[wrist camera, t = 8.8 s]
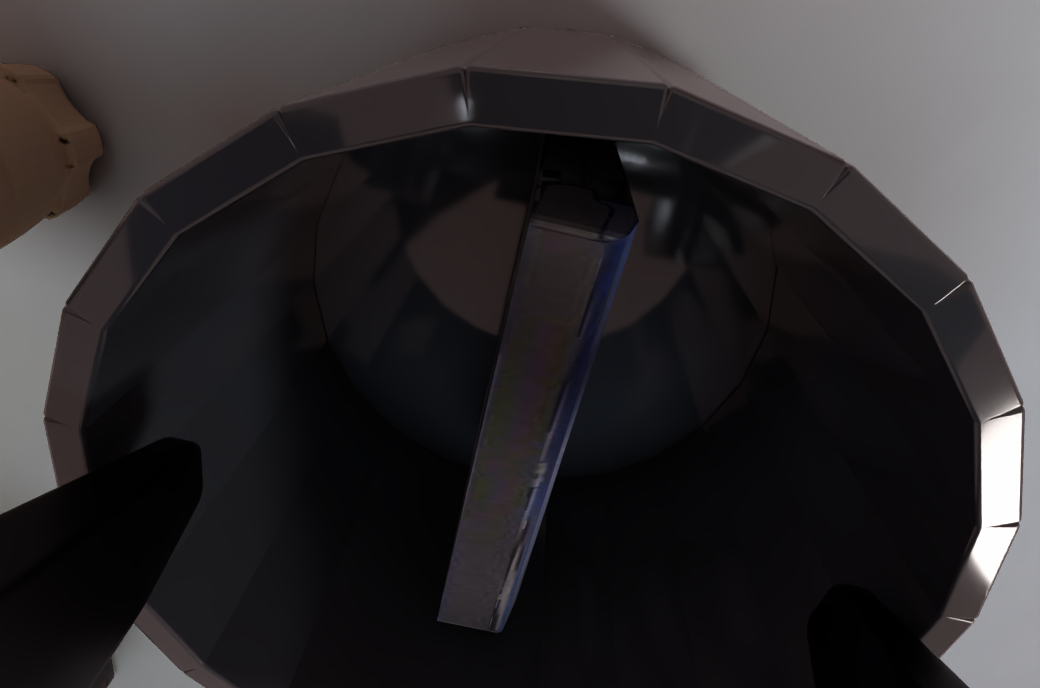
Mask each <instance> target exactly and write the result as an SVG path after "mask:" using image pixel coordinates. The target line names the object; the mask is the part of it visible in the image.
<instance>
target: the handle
mask: <svg viewBox="0 0 1040 688" xmlns="http://www.w3.org/2000/svg"><path fill="white" fill-rule="evenodd" d="M102 154H103V146H102V140H101V138H100V135H99V132H98V130H97V128H96V126H95V125H94V124H93V123H90V122H88V121H87V120H86V119H85V118H84V117H83V116H82V115H81V114H80V113H79V112H78V111H77V110H76V109H75V108H74V106H73V105H72V104H71V102H70V101H69V100H68V98H67V97H66V95H65V94H64V92H63V90H62V88H61V86H60V82H59V80H58V79H56V78H55V77H54V76H53V75H52V74H50V73H49V72H47V71H45V70H44V69H42V68H39V67H37V66H35V65H26V64H0V249H1V248H3V247H4V246H6V245H8V244H9V243H11V242H12V241H14V240H15V239H17V238H18V237H20V236H21V235H23V234H24V233H26V232H27V231H28V230H30V229H31V228H32V227H34V226H35V225H36V224H37V223H39V222H40V221H41V220H43V219H44V218H45V217H46V218H47V219H52V218H55V217H57V216H59V215H60V214H62V213H64V212H65V211H67V210H69V209H71V208H72V207H74V206H75V205H77V204H78V203H79V202H81V201H82V200H83V199H84V198H86V197H87V196H88V195H89V191H90V185H89V173H90V168H91V165H92V163H93V162H94V160H95V159H96V158H98V157H100V156H101V155H102Z"/></svg>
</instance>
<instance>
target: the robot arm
mask: <svg viewBox="0 0 1040 688" xmlns="http://www.w3.org/2000/svg"><path fill="white" fill-rule="evenodd" d="M202 490H203V476H202V456H201V448H200V446H199V444H198V443H196V442H194V441H189V440H185V439H180V438H175V437H165V438H162V439H159V440H157V441H155V442H153V443H151V444H149V445H147V446H145V447H142V448H140V449H138V450H136V451H134V452H132V453H130V454H128V455H126V456H123V457H121V458H119V459H117V460H115V461H113V462H111V463H109V464H106V465H104V466H102V467H100V468H98V469H96V470H94V471H92V472H90V473H87V474H85V475H83V476H81V477H79V478H77V479H75V480H73V481H70V482H68V483H66V484H64V485H62V486H60V487H58V488H56V489H53V490H51V491H49V492H47V493H45V494H43V495H41V496H39V497H37V498H34V499H32V500H30V501H28V502H26V503H24V504H22V505H20V506H17V507H15V508H13V509H11V510H9V511H7V512H5V513H3V514H1V515H0V688H107V687H108V685H109V684H110V682H111V681H112V679H113V678H114V671H113V666H112V660H111V656H112V655H113V653H114V652H115V650H116V649H117V647H118V646H119V644H120V643H121V641H122V640H123V638H124V637H125V635H126V634H127V632H128V631H129V629H130V628H131V626H132V625H133V623H134V622H135V620H136V618H137V617H138V615H139V614H140V612H141V610H142V609H143V607H144V605H145V604H146V602H147V600H148V598H149V596H150V595H151V593H152V591H153V589H154V587H155V585H156V584H157V582H158V580H159V578H160V576H161V574H162V572H163V570H164V568H165V566H166V564H167V563H168V561H169V559H170V557H171V555H172V553H173V551H174V549H175V547H176V545H177V544H178V542H179V540H180V538H181V536H182V534H183V532H184V530H185V528H186V526H187V525H188V523H189V521H190V519H191V517H192V515H193V513H194V511H195V509H196V507H197V505H198V503H199V501H200V498H201V495H202ZM807 638H808V644H809V651H810V657H811V664H812V670H813V677H814V683H815V688H969V687H968V686H967V685H966V684H965V683H964V682H963V681H962V680H961V679H960V678H959V677H958V676H957V675H956V674H955V673H954V672H953V671H952V670H951V669H950V668H949V667H947V666H946V665H945V664H944V663H943V662H942V661H941V660H940V659H939V658H938V657H937V656H936V655H935V654H934V653H933V652H932V651H931V650H930V649H929V648H928V647H927V646H926V645H925V644H924V643H923V642H922V641H921V640H920V639H919V638H918V637H917V636H916V635H915V634H914V633H913V632H912V631H911V630H910V629H909V628H908V627H907V626H906V625H905V624H904V623H903V622H902V621H901V620H899V619H898V618H897V617H896V616H895V615H894V614H893V613H892V612H891V611H890V610H889V609H888V608H887V607H886V606H885V605H884V604H883V603H882V602H881V601H880V600H879V599H878V598H877V597H876V596H875V595H874V594H873V593H872V592H871V591H869V590H868V589H866V588H863V587H859V586H855V585H850V584H846V583H837V584H835V585H833V586H832V587H831V588H830V589H829V591H828V592H827V593H826V595H825V596H824V597H823V599H822V600H821V602H820V603H819V604H818V606H817V607H816V608H815V610H814V611H813V613H812V614H811V616H810V617H809V620H808V624H807Z"/></svg>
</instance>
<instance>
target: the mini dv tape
mask: <svg viewBox="0 0 1040 688" xmlns="http://www.w3.org/2000/svg"><path fill="white" fill-rule="evenodd" d="M638 223H639V218H638V215H637V212H636V208H635V205H634V202H633V198H632V195H631V192H630V189H629V185H628V182H627V179H626V176H625V172H624V169H623V166H622V163H621V159H620V156H619V153H618V149H617V146H615V145H611V144H607V143H603V142H599V141H594V140H590V139H586V138H581V137H570V136H560V135H550V134H545V135H544V140H543V144H542V149H541V153H540V157H539V162H538V166H537V171H536V175H535V179H534V184H533V188H532V192H531V197H530V201H529V206H528V210H527V214H526V219H525V223H524V228H523V232H522V236H521V241H520V245H519V250H518V254H517V258H516V263H515V267H514V271H513V276H512V280H511V285H510V289H509V293H508V298H507V302H506V307H505V311H504V315H503V320H502V324H501V329H500V333H499V337H498V342H497V346H496V350H495V355H494V359H493V364H492V368H491V372H490V377H489V381H488V386H487V390H486V394H485V399H484V403H483V408H482V412H481V416H480V421H479V425H478V430H477V434H476V439H475V444H474V448H473V453H472V458H471V463H470V467H469V472H468V477H467V481H466V486H465V491H464V496H463V500H462V505H461V510H460V515H459V519H458V524H457V529H456V533H455V538H454V543H453V548H452V552H451V557H450V562H449V566H448V571H447V576H446V581H445V585H444V590H443V595H442V600H441V604H440V609H439V614H438V618H437V621H441V622H446V623H451V624H456V625H461V626H466V627H471V628H476V629H481V630H486V631H491V632H496V633H497V632H501V631H502V630H503V628H504V626H505V623H506V621H507V619H508V617H509V614H510V612H511V610H512V608H513V605H514V603H515V601H516V598H517V595H518V592H519V589H520V586H521V583H522V580H523V577H524V574H525V571H526V568H527V565H528V561H529V558H530V555H531V552H532V549H533V546H534V543H535V540H536V537H537V534H538V531H539V528H540V525H541V521H542V518H543V515H544V512H545V509H546V506H547V503H548V500H549V497H550V494H551V491H552V488H553V485H554V481H555V478H556V475H557V472H558V469H559V466H560V463H561V460H562V457H563V454H564V451H565V448H566V445H567V441H568V438H569V435H570V432H571V429H572V426H573V423H574V420H575V417H576V414H577V411H578V408H579V405H580V401H581V398H582V395H583V392H584V389H585V386H586V383H587V380H588V377H589V374H590V371H591V368H592V365H593V361H594V358H595V355H596V352H597V349H598V346H599V343H600V340H601V337H602V334H603V331H604V328H605V325H606V321H607V318H608V315H609V312H610V309H611V306H612V303H613V300H614V297H615V294H616V291H617V288H618V285H619V281H620V278H621V275H622V272H623V269H624V266H625V263H626V260H627V257H628V254H629V251H630V248H631V245H632V241H633V238H634V235H635V232H636V229H637V226H638Z"/></svg>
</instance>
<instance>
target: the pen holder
mask: <svg viewBox="0 0 1040 688" xmlns="http://www.w3.org/2000/svg"><path fill="white" fill-rule="evenodd" d="M545 134H550V135H560V136H570V137H581V138H586V139H590V140H594V141H599V142H603V143H607V144H611V145H615V146H617V149H618V153H619V156H620V159H621V163H622V166H623V169H624V172H625V176H626V179H627V182H628V185H629V189H630V192H631V195H632V198H633V202H634V205H635V208H636V212H637V215H638V218H639V223H638V226H637V229H636V232H635V235H634V238H633V241H632V245H631V248H630V251H629V254H628V257H627V260H626V263H625V266H624V269H623V272H622V275H621V278H620V281H619V285H618V288H617V291H616V294H615V297H614V300H613V303H612V306H611V309H610V312H609V315H608V318H607V321H606V325H605V328H604V331H603V334H602V337H601V340H600V343H599V346H598V349H597V352H596V355H595V358H594V361H593V365H592V368H591V371H590V374H589V377H588V380H587V383H586V386H585V389H584V392H583V395H582V398H581V401H580V405H579V408H578V411H577V414H576V417H575V420H574V423H573V426H572V429H571V432H570V435H569V438H568V441H567V445H566V448H565V451H564V454H563V457H562V460H561V463H560V466H559V469H558V472H557V475H556V478H555V481H554V485H553V488H552V491H551V494H550V497H549V500H548V503H547V506H546V509H545V512H544V515H543V518H542V521H541V525H540V528H539V531H538V534H537V537H536V540H535V543H534V546H533V549H532V552H531V555H530V558H529V561H528V565H527V568H526V571H525V574H524V577H523V580H522V583H521V586H520V589H519V592H518V595H517V598H516V601H515V603H514V605H513V608H512V610H511V612H510V614H509V617H508V619H507V621H506V623H505V626H504V628H503V630H502V631H501V632H497V633H496V632H491V631H486V630H481V629H476V628H471V627H466V626H461V625H456V624H451V623H446V622H441V621H437V618H438V614H439V609H440V604H441V600H442V595H443V590H444V585H445V581H446V576H447V571H448V566H449V562H450V557H451V552H452V548H453V543H454V538H455V533H456V529H457V524H458V519H459V515H460V510H461V505H462V500H463V496H464V491H465V486H466V481H467V477H468V472H469V467H470V463H471V458H472V453H473V448H474V444H475V439H476V434H477V430H478V425H479V421H480V416H481V412H482V408H483V403H484V399H485V394H486V390H487V386H488V381H489V377H490V372H491V368H492V364H493V359H494V355H495V350H496V346H497V342H498V337H499V333H500V329H501V324H502V320H503V315H504V311H505V307H506V302H507V298H508V293H509V289H510V285H511V280H512V276H513V271H514V267H515V263H516V258H517V254H518V250H519V245H520V241H521V236H522V232H523V228H524V223H525V219H526V214H527V210H528V206H529V201H530V197H531V192H532V188H533V184H534V179H535V175H536V171H537V166H538V162H539V157H540V153H541V149H542V144H543V140H544V135H545ZM1022 405H1023V400H1022V397H1021V395H1020V393H1019V390H1018V388H1017V386H1016V383H1015V381H1014V378H1013V376H1012V374H1011V371H1010V369H1009V367H1008V364H1007V362H1006V360H1005V357H1004V355H1003V353H1002V350H1001V348H1000V346H999V343H998V341H997V339H996V336H995V334H994V332H993V329H992V327H991V325H990V322H989V320H988V317H987V315H986V313H985V310H984V308H983V306H982V303H981V301H980V299H979V296H978V294H977V292H976V289H975V287H974V285H973V282H971V281H970V280H968V277H967V274H966V273H965V272H964V271H963V270H962V269H961V268H960V267H959V266H958V265H957V264H956V263H955V262H954V261H953V260H952V259H951V258H950V257H948V256H947V255H946V254H945V253H944V252H943V251H942V250H941V249H940V248H939V247H938V246H937V245H936V244H935V243H934V242H933V241H932V240H931V239H930V238H929V237H928V236H927V235H925V234H924V233H923V232H922V231H921V230H920V229H919V228H918V227H917V226H916V225H915V224H914V223H913V222H912V221H911V220H910V219H909V218H908V217H907V216H906V215H905V214H904V213H902V212H901V211H900V210H899V209H898V208H897V207H896V206H895V205H894V204H893V203H892V202H891V201H890V200H889V199H888V198H887V197H886V196H885V195H884V194H883V193H882V192H881V191H879V190H878V189H877V188H876V187H875V186H874V185H873V184H872V183H871V182H870V181H869V180H868V179H867V178H866V177H865V176H864V175H863V174H862V173H861V172H860V171H859V170H858V169H856V168H855V167H854V166H853V165H851V164H849V163H848V162H846V161H844V159H842V158H841V157H839V156H837V155H835V154H834V153H832V152H830V151H829V150H827V149H825V148H823V147H822V146H820V145H818V144H817V143H815V142H813V141H811V140H810V139H808V138H806V137H805V136H803V135H801V134H799V133H798V132H796V131H794V130H793V129H791V128H789V127H788V126H786V125H784V124H782V123H781V122H779V121H777V120H776V119H774V118H772V117H770V116H769V115H767V114H765V113H764V112H762V111H760V110H758V109H757V108H755V107H753V106H752V105H750V104H748V103H747V102H745V101H743V100H741V99H740V98H738V97H736V96H735V95H733V94H731V93H729V92H728V91H726V90H724V89H723V88H721V87H719V86H717V85H716V84H714V83H712V82H711V81H709V80H707V79H705V78H704V77H702V76H700V75H699V74H697V73H695V72H694V71H692V70H690V69H688V68H686V67H684V66H681V65H679V64H677V63H675V62H672V61H670V60H668V59H665V58H663V57H661V56H659V55H656V54H654V53H652V52H650V51H649V50H647V49H644V48H641V47H638V46H636V45H634V44H632V43H629V42H627V41H625V40H622V39H620V38H618V37H616V36H613V37H612V36H611V35H607V34H597V33H586V32H581V31H575V30H562V29H543V28H532V27H525V28H521V27H520V28H516V29H512V30H507V31H503V32H498V33H493V34H489V35H485V36H481V37H477V38H473V39H469V40H464V41H460V42H456V43H451V44H447V45H443V46H440V47H437V48H434V49H432V50H429V51H426V52H424V53H421V54H418V55H416V56H413V57H410V58H408V59H405V60H402V61H399V62H397V63H394V64H391V65H389V66H386V67H383V68H381V69H378V70H375V71H373V72H370V73H367V74H365V75H362V76H359V77H357V78H354V79H351V80H348V81H346V82H343V83H340V84H338V85H335V86H332V87H330V88H327V89H324V90H322V91H319V92H316V93H314V94H311V95H308V96H305V97H303V98H300V99H297V100H295V101H292V102H289V103H287V104H284V105H282V106H280V107H277V108H274V109H272V110H270V111H269V112H267V113H266V114H264V115H262V116H261V117H259V118H258V119H256V120H255V121H253V122H251V123H250V124H248V125H247V126H245V127H244V128H242V129H241V130H239V131H237V132H236V133H234V134H233V135H231V136H230V137H228V138H227V139H225V140H223V141H222V142H220V143H219V144H217V145H216V146H214V147H212V148H211V149H209V150H208V151H206V152H205V153H203V154H202V155H200V156H198V157H197V158H195V159H194V160H192V161H191V162H189V163H188V164H186V165H184V166H183V167H181V168H180V169H178V170H177V171H175V172H174V173H172V174H170V175H169V176H167V177H166V178H164V179H163V180H161V181H159V182H158V183H156V184H155V185H153V186H152V187H150V188H149V189H147V190H145V191H144V193H143V195H142V196H141V197H139V198H137V199H136V201H135V202H134V203H133V205H132V206H131V208H130V209H129V211H128V212H127V214H126V215H125V216H124V218H123V219H122V221H121V222H120V224H119V225H118V227H117V228H116V230H115V231H114V232H113V234H112V235H111V237H110V238H109V240H108V241H107V243H106V244H105V245H104V247H103V248H102V250H101V251H100V253H99V254H98V256H97V257H96V258H95V260H94V261H93V263H92V264H91V266H90V267H89V269H88V270H87V272H86V273H85V274H84V276H83V277H82V279H81V280H80V282H79V283H78V285H77V286H76V287H75V289H74V290H73V292H72V293H71V295H70V296H69V298H68V299H67V301H66V306H65V307H64V308H63V310H62V316H61V321H60V327H59V332H58V338H57V343H56V348H55V354H54V359H53V365H52V370H51V376H50V381H49V386H48V392H47V397H46V403H45V408H44V416H45V418H44V425H45V430H46V435H47V439H48V444H49V449H50V454H51V458H52V463H53V468H54V473H55V477H56V482H57V487H60V486H62V485H64V484H66V483H68V482H70V481H73V480H75V479H77V478H79V477H81V476H83V475H85V474H87V473H90V472H92V471H94V470H96V469H98V468H100V467H102V466H104V465H106V464H109V463H111V462H113V461H115V460H117V459H119V458H121V457H123V456H126V455H128V454H130V453H132V452H134V451H136V450H138V449H140V448H142V447H145V446H147V445H149V444H151V443H153V442H155V441H157V440H159V439H162V438H165V437H175V438H180V439H185V440H189V441H194V442H196V443H198V444H199V446H200V448H201V456H202V476H203V490H202V495H201V498H200V501H199V503H198V505H197V507H196V509H195V511H194V513H193V515H192V517H191V519H190V521H189V523H188V525H187V526H186V528H185V530H184V532H183V534H182V536H181V538H180V540H179V542H178V544H177V545H176V547H175V549H174V551H173V553H172V555H171V557H170V559H169V561H168V563H167V564H166V566H165V568H164V570H163V572H162V574H161V576H160V578H159V580H158V582H157V584H156V585H155V587H154V589H153V591H152V593H151V595H150V596H149V598H148V600H147V602H146V604H145V605H144V607H143V609H142V610H141V612H140V614H139V615H138V617H137V618H136V620H135V622H134V624H135V625H136V626H137V627H138V628H139V629H140V630H141V631H142V632H143V633H144V634H145V635H146V636H147V637H148V638H149V639H150V640H151V641H152V642H153V643H154V644H155V645H156V646H157V647H158V648H159V649H160V650H161V651H162V652H163V653H164V654H165V655H166V656H167V657H168V658H169V659H170V660H171V661H172V662H173V663H174V664H175V665H176V666H177V667H178V668H179V669H180V670H182V671H184V673H185V674H186V675H187V676H189V677H190V678H192V679H193V680H195V681H196V682H198V683H199V684H201V685H202V686H204V687H205V688H815V683H814V677H813V670H812V664H811V657H810V651H809V644H808V638H807V624H808V620H809V617H810V616H811V614H812V613H813V611H814V610H815V608H816V607H817V606H818V604H819V603H820V602H821V600H822V599H823V597H824V596H825V595H826V593H827V592H828V591H829V589H830V588H831V587H832V586H833V585H835V584H837V583H846V584H850V585H855V586H859V587H863V588H866V589H868V590H869V591H871V592H872V593H873V594H874V595H875V596H876V597H877V598H878V599H879V600H880V601H881V602H882V603H883V604H884V605H885V606H886V607H887V608H888V609H889V610H890V611H891V612H892V613H893V614H894V615H895V616H896V617H897V618H898V619H899V620H901V621H902V622H903V623H904V624H905V625H906V626H907V627H908V628H909V629H910V630H911V631H912V632H913V633H914V634H915V635H916V636H917V637H918V638H919V639H920V640H921V641H922V642H923V643H924V644H925V645H926V646H927V647H928V648H929V649H930V650H931V651H932V652H933V653H934V654H935V655H936V656H937V657H938V658H940V657H941V656H942V655H943V654H944V653H945V652H946V651H947V650H948V649H949V648H950V647H951V646H952V645H953V644H954V643H955V642H956V641H957V640H958V638H959V637H960V636H961V635H962V634H963V633H964V632H965V631H966V630H967V629H968V628H969V627H970V626H971V625H972V624H973V623H974V618H977V617H978V615H979V613H980V611H981V609H982V607H983V604H984V602H985V600H986V598H987V596H988V594H989V591H990V589H991V587H992V585H993V583H994V581H995V579H996V576H997V574H998V572H999V570H1000V568H1001V566H1002V563H1003V561H1004V559H1005V557H1006V555H1007V553H1008V551H1009V548H1010V546H1011V544H1012V542H1013V540H1014V538H1015V535H1016V533H1017V531H1018V529H1019V522H1020V521H1021V515H1022V484H1023V453H1024V422H1025V410H1024V407H1023V406H1022Z"/></svg>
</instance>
